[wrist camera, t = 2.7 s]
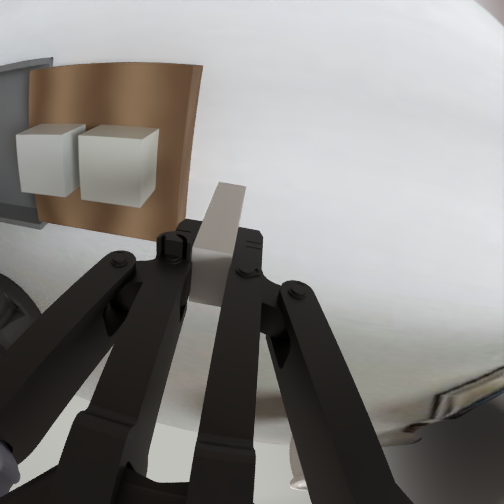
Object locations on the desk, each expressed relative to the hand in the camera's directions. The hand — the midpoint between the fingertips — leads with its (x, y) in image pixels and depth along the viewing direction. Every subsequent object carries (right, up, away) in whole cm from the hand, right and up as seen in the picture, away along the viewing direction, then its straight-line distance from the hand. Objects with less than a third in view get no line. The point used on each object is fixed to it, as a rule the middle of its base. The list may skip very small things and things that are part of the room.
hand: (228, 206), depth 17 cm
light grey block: (-15, +6, +5) cm, 17 cm away
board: (-11, +7, +8) cm, 15 cm away
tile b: (-8, +5, +5) cm, 11 cm away
